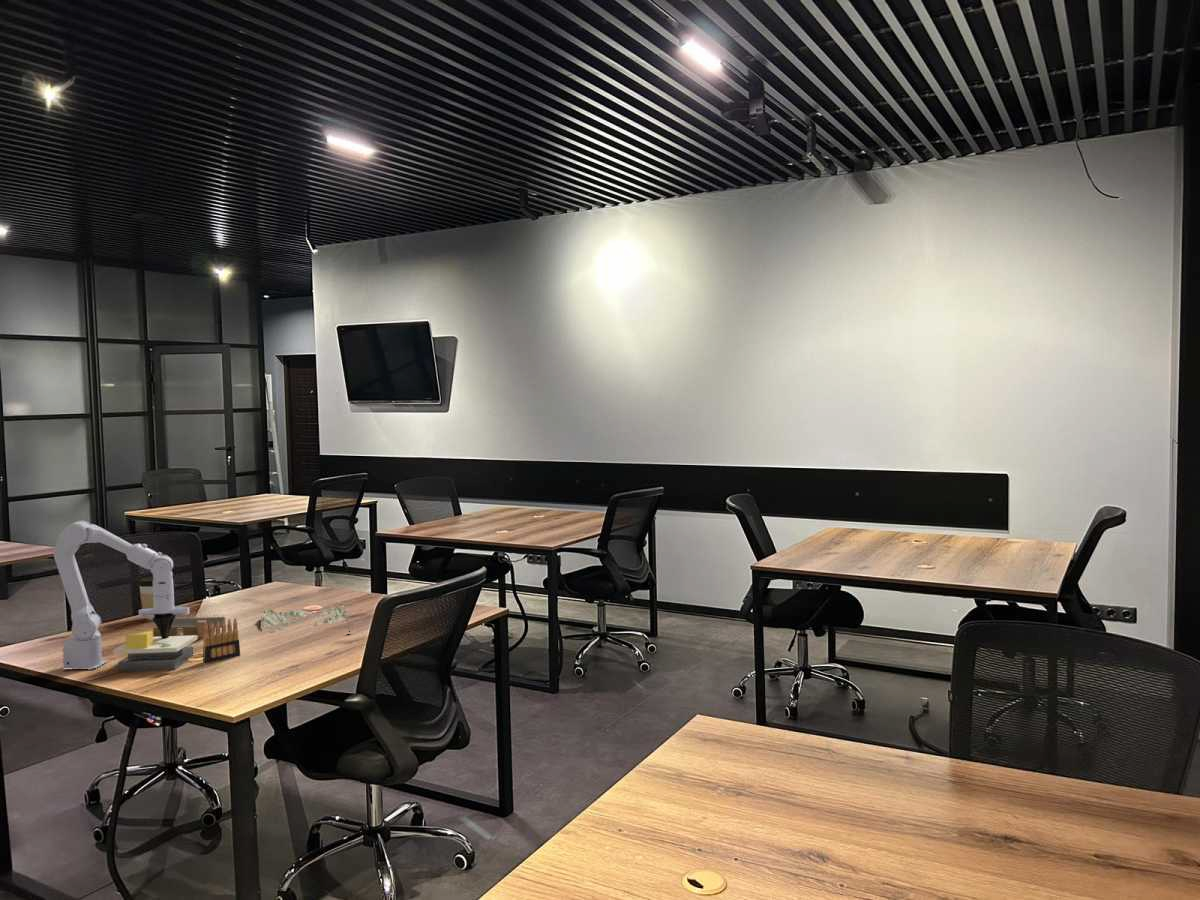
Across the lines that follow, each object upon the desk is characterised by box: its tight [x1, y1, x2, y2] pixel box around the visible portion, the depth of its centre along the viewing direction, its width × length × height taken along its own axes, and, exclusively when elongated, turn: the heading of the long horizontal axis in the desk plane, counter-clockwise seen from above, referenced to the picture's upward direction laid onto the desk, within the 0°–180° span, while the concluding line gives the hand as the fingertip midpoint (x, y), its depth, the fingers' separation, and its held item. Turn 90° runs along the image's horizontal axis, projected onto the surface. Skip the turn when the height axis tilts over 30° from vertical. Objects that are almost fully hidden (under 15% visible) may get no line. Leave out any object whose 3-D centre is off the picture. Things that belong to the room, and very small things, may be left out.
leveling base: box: [117, 646, 194, 672], centre depth 252 cm, size 16×14×5 cm
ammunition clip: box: [202, 617, 241, 664], centre depth 257 cm, size 11×2×12 cm, turn 136°
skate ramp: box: [152, 614, 226, 639], centre depth 283 cm, size 29×35×8 cm
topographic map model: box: [260, 602, 348, 633], centre depth 295 cm, size 36×29×5 cm
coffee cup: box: [137, 576, 154, 619], centre depth 310 cm, size 10×10×15 cm
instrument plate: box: [112, 630, 198, 655], centre depth 252 cm, size 18×16×5 cm
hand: (165, 637), depth 258 cm, fingers closed, pressing on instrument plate
